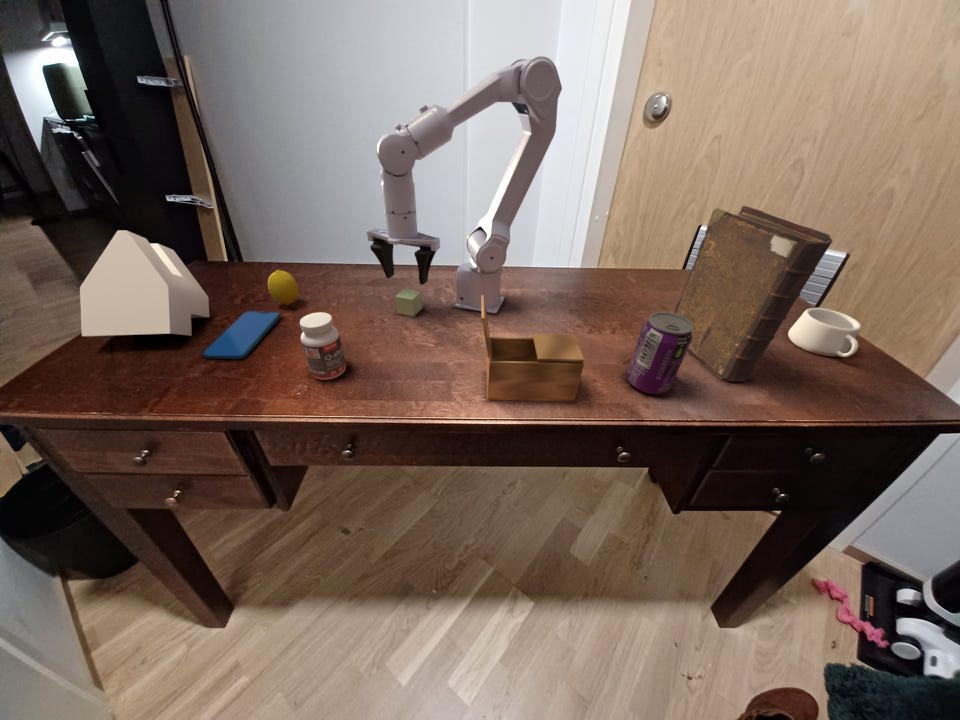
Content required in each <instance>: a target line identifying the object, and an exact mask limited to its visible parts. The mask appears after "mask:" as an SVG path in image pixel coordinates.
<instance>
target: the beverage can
mask: <svg viewBox="0 0 960 720" xmlns="http://www.w3.org/2000/svg"><path fill="white" fill-rule="evenodd" d="M692 330H693V324H692V323H691V322H690V321H689V320H687V319H686V318H684V317H682V316H679V315H677V314H674V313H673V312H669V311H668V312H667V311H657V312H653V313H651V314H650V315H649V316H648V319H647V321H646V322H644V323H643V325H642V327H641V330H640V332H639V335H638V338H637V341H636V344H635V346H634V347H635V348H634V350H633V353H632V356H631V358H630V362H629V364H628V367H627V371H626V374H625V376H626V380H627V381H628V383H629V384H630V385H631V386H633V387H634V388H636V389H638V390H639V391H641V392H644V393H646V394H647V393H648V394H652V395H654V394H655V395H661V394H665V393H667V392H669V391H670V390H671V388H672V386H673V383H674V382H675V378H676V376H677V374H678V372H679V370H680V367H681V365H682V363H683V361H684V358H685V356H686V355H687V352H688V351H687V350H688V347H689V345H690V343H691V341H692V333H691V332H692Z"/></svg>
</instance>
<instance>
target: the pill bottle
mask: <svg viewBox="0 0 960 720" xmlns="http://www.w3.org/2000/svg"><path fill="white" fill-rule="evenodd" d="M299 325H300V329H301V332H302V333H301V334H300V342H301V345H302V348H303V352H304V355H305V359H306V361H307V362H306V363H307V365H308V368H309V371H310V374H311V376H312V377H314V379H317V380H321V381H328V380H334V379H336V378H338V377H340V376H341V375H343V374H344V373H345V371H346V369H347V362H346V358H345V352H344V349H343V344H342V341H341V336H340V333H339V330H338V328H336V326H334V325H335V324H334V320H333V317H332V315H331V314H330V313H327V312H322V311H321V312H320V311H319V312H312V313H309V314H307V315H305V316H303V317H301V318H300V320H299Z"/></svg>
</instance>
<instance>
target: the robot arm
mask: <svg viewBox="0 0 960 720" xmlns="http://www.w3.org/2000/svg"><path fill="white" fill-rule="evenodd" d="M562 90H563V86H562V82H561V79H560V75H559V72H558V69H557V66H556V64H555V63H554V61H553V60H552V59H551V58H549V57H548V56H543V55H538V56H534V57H532V58H527V59H526V58H520V59H517V60H515V61H513V62H512V63H511V64H509V65H506V66H504V67H501V68H499V69H497V70H495V71H493V72H491V73H490V74H488V75H487V76H486V77H484V78H482V79H481V80H480V81H478V82H477V83H475V85H473V86H472V87H471V88H469V89H467V90H466V91H465V92H464V93H462V94H461V95H459V96H458V97H456V98H455V99H454V100H453V101H451V102H450V103H449V104H447V105H446V106H444V107H443V106H441V105H438V104H434V103H432V104H430V105H429V106H428V105H427V104H425V103H424V104H423V105H420V106H419V107H418V111H419V113H417V114H416V115H414V116H413V117H411V118H410V119H408V120H407V121H405V122H404V123H402V124H401V123H400V122H398V123H396V124H394V130H395V131H396V132H391V131H390V132H387V133H385V134H383V135H382V136H381V137H380V139H379V140H378V143H377V146H376V151H375V152H376V155H377V159H378V160H379V163H380V165H381V166H380V178H381V180H382V181H381V183H380V184H381V193H382V201H383V209H384V218H385V227H386V228H374V227H371V228H369V229H367V230H366V235H367V241H369V242H372V244H371V245H370V247H369V248H370V251H372V253H373V254H374V256H375V257H376V259H377V260H378V262H379V264H380V266H381V268H382V271H383V272H384V275H385V278H386V279H391V278H392V277H394V275H395V263H394V246H396V245H397V246H398V245H403V246H409V247H415V248H419V249H417V250H416V251H415V252H414V253H413V254H414V258H415V260H416V264H417V268H418V269H417V270H418V282H419V285H421V286H422V285H423V286H424V285H425V284H426V283H427V282H428V280H429V273H430V270H431V269H430V268H431V265H432V262H433V260H434V257H435V255H436V253H437V251H438V250H440V249H441V239H440V237H437V236H436V237H435V236H432V235H429V234H425V233H422V232H419V231H418V215H417V203H416V202H417V201H416V188H415V182H414V177H413V169H414V167H415V163H416V161H421V160H423V159H425V158H427V156H429V155H430V154H432V153H434V152H436V151H437V150H438V149H439V148H442V147H443V146H445V145H447V144H448V143H449V142H450V141H452V138H453V133H454V130H455V128H456V127H457V126H460V125H461V124H463V123H464V122H466V121H467V120H469V119H471V118H473V117H475V116H476V115H478V114H479V113H481V112H482V111H484V110H487V109H488V108H490V107H491V106H493V105H495V104H496V103H511V105H512V106H513V107H514V109H515V110H516V112H517V115H518V118H519V122H520V124H521V128H522V134H521V136H520V138H519V141H518V143H517V145H516V147H515V150H514V152H513V155H512V156H511V158H510V161H509V163H508V166H507V168H506V169H505V172H504V175H503V177H502V179H501V182H500V184H499V186H498V188H497V191H496V192H495V195H494V197H493V199H492V201H491V204H490V205H489V208H488V211H487V213H486V214H485V216H483V217H482V218H481V219H480V220H479V221H478V224H477V226H476V227H475V228H474V229H473V230H472V231H471V232H470V233H469V234H468V235H467V238H466V242H465V247H466V249H467V252H468V253H469V254H470V257H469V260H468V262H460V264H459V265H458V268H457V271H456V278H455V297H456V298H455V299H456V300H455V301H456V303H455V307H456V308H459V309H465V310H469V311H470V310H471V311H476V312H481V313H482V306H481V295H484V299H485V306H486V312H487V314H493V315H496V314H497V313H498V311H499V310H500V308H501V306H502V304H503V303H504V300H505V296H503V295H501V287H502V286H501V285H502V272H503V266H504V265H505V262H506V261H507V250H508V247H509V245H510V243H511V226H512V225H513V222H514V220H515V217H516V216H517V214H518V212H519V210H520V207H522V203H524V199H525V197H526V195H527V194H528V192H529V189H530V187H531V185H532V183H533V181H534V179H535V177H536V174H537V173H538V170H539V168H540V166H541V165H542V162H543V160H544V158H545V156H546V154H547V152H548V150H549V147H550V145H551V144H552V141H553V139H554V138H555V134H556V131H557V121H558V119H557V118H558V103H559V97H560V94H561V93H562Z"/></svg>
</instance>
